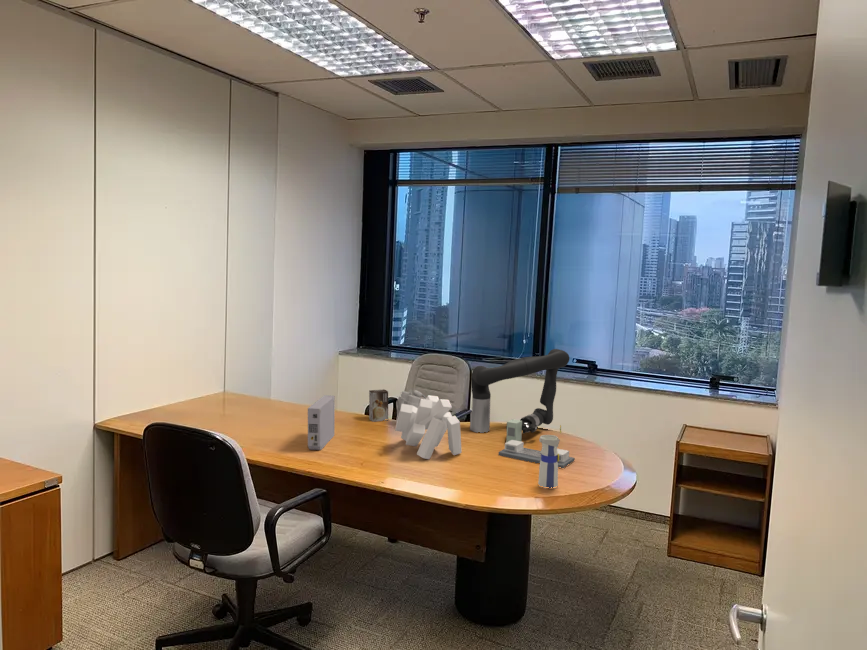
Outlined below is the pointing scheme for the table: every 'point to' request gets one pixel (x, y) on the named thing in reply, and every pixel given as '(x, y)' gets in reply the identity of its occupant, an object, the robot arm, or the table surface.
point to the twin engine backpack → (409, 399)
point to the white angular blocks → (429, 425)
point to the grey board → (531, 459)
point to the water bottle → (549, 461)
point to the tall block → (514, 430)
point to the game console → (321, 422)
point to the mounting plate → (532, 453)
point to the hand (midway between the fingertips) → (515, 429)
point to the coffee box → (378, 405)
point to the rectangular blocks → (518, 445)
